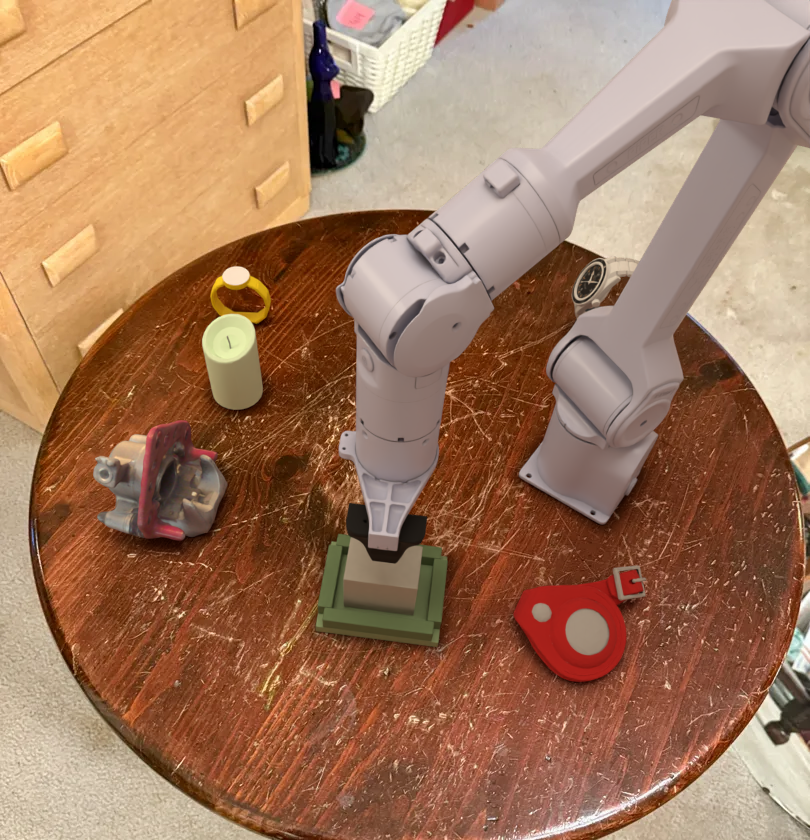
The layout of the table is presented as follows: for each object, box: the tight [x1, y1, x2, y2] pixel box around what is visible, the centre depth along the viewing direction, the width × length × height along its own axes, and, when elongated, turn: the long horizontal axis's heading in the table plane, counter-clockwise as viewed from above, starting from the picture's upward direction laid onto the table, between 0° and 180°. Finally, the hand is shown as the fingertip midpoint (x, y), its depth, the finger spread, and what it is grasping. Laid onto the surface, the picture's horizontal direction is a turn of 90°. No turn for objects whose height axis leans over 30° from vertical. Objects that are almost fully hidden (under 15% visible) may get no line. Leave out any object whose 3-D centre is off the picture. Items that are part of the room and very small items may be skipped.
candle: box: [201, 314, 264, 411], centre depth 78 cm, size 5×5×8 cm
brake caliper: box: [92, 419, 228, 542], centre depth 71 cm, size 11×11×12 cm
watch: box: [571, 256, 640, 323], centre depth 83 cm, size 6×8×11 cm
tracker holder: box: [513, 564, 647, 683], centre depth 70 cm, size 12×4×10 cm
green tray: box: [315, 533, 449, 648], centre depth 70 cm, size 10×8×2 cm
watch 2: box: [209, 266, 272, 325], centre depth 84 cm, size 6×3×6 cm, turn 86°
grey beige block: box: [343, 537, 423, 615], centre depth 68 cm, size 6×4×5 cm, turn 83°
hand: (390, 517), depth 65 cm, fingers open, 7 cm apart
